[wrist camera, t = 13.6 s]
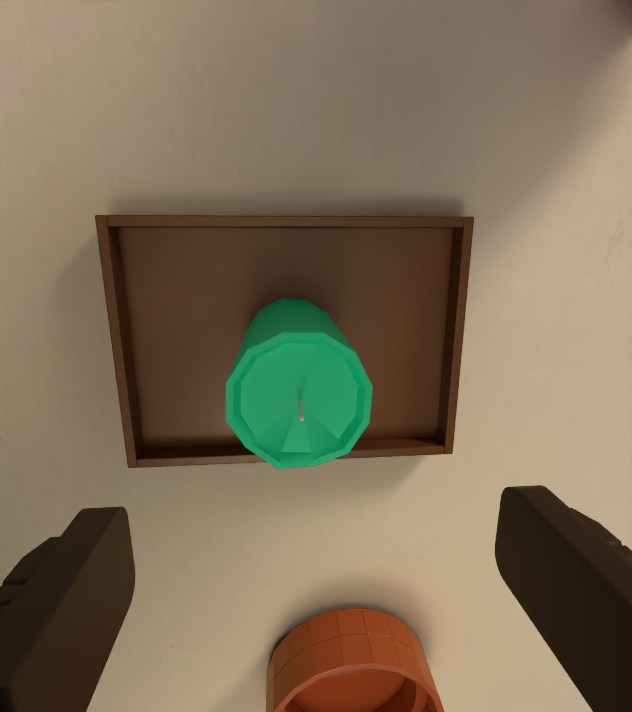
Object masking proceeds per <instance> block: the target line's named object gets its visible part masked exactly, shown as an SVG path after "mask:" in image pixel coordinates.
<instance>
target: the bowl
mask: <svg viewBox="0 0 632 712" xmlns="http://www.w3.org/2000/svg"><path fill="white" fill-rule="evenodd" d="M266 712H444V709H443V706H442V703H441V700H440V697H439V694H438V692H437V689H436V686H435V683H434V680H433V677H432V675H431V672H430V669H429V666H428V663H427V661H426V658H425V655H424V652H423V649H422V647H421V644H420V641H419V639H418V637H417V636H416V635H415V634H414V633H413V632H412V631H411V629H410V628H409V627H408V626H407V625H406V624H405V623H403V622H401V621H399V620H398V619H396V618H394V617H392V616H390V615H388V614H386V613H384V612H378V611H373V610H368V609H363V608H362V609H361V608H356V609H343V610H336V611H335V610H334V611H331V612H328V613H325V614H322V615H319V616H316V617H313V618H311V619H309V620H307V621H306V622H304V623H303V624H301V625H300V626H298V627H297V628H295V629H294V630H292V631H291V632H290V633H288V635H287V636H286V637H285V638H284V639H283V641H282V642H281V643H280V644H279V645H278V647H277V648H276V649H275V651H274V653H273V656H272V659H271V662H270V664H269V667H268V670H267V692H266Z"/></svg>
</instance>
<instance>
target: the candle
mask: <svg viewBox="0 0 632 712" xmlns="http://www.w3.org/2000/svg"><path fill="white" fill-rule="evenodd" d="M372 390H373V386H372V384H371V382H370V380H369V378H368V376H367V374H366V372H365V370H364V368H363V366H362V364H361V362H360V360H359V358H358V356H357V354H356V352H355V351H354V349H353V348H352V346H351V345H350V344H349V342H348V341H347V340H346V338H345V337H344V335H343V334H342V333H341V331H340V330H339V329H338V327H337V326H336V324H335V323H334V322H333V320H332V319H331V318H330V316H329V315H328V313H327V312H325V311H324V310H322V309H320V308H319V307H317V306H316V305H314V304H313V303H311V302H310V301H308V300H307V299H287V298H281V299H279V300H277V301H275V302H273V303H271V304H269V305H268V306H266V307H264V308H262V309H260V310H259V311H258V313H257V314H256V316H255V318H254V319H253V321H252V322H251V324H250V326H249V327H248V329H247V330H246V333H245V336H244V338H243V341H242V343H241V346H240V348H239V351H238V354H237V356H236V359H235V361H234V364H233V366H232V369H231V372H230V374H229V377H228V379H227V382H226V421H227V423H228V424H229V425H230V427H231V428H232V429H233V431H234V432H235V434H236V435H237V436H238V438H239V439H240V440H241V442H242V443H243V444H244V446H245V447H246V448H247V449H249V450H250V451H252V452H253V453H255V454H256V455H258V456H259V457H261V458H262V459H264V460H265V461H267V462H268V463H270V464H271V465H273V466H274V467H276V468H277V469H282V468H295V467H308V466H316V465H319V464H321V463H324V462H327V461H329V460H332V459H335V458H338V457H340V456H343V455H346V454H348V453H349V452H350V451H351V449H352V448H353V446H354V445H355V443H356V442H357V440H358V439H359V437H360V436H361V434H362V433H363V431H364V430H365V428H366V427H367V426H368V424H369V422H370V411H371V400H372Z"/></svg>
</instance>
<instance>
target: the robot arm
mask: <svg viewBox="0 0 632 712" xmlns="http://www.w3.org/2000/svg"><path fill="white" fill-rule="evenodd" d="M495 558H496V563H497V566H498V569H499V572H500V574H501V576H502V578H503V580H504V581H505V583H506V584H507V586H508V587H509V589H510V590H511V592H512V593H513V595H514V596H515V598H516V599H517V600H518V602H519V603H520V605H521V606H522V608H523V609H524V611H525V612H526V614H527V615H528V617H529V618H530V620H531V621H532V622H533V624H534V625H535V627H536V628H537V630H538V631H539V633H540V634H541V636H542V637H543V639H544V640H545V642H546V643H547V644H548V646H549V647H550V649H551V650H552V652H553V653H554V655H555V656H556V658H557V659H558V661H559V662H560V664H561V665H562V667H563V668H564V669H565V671H566V672H567V674H568V675H569V677H570V678H571V680H572V681H573V683H574V684H575V686H576V687H577V689H578V690H579V691H580V693H581V694H582V696H583V697H584V699H585V700H586V702H587V703H588V705H589V706H590V708H591V709H592V711H593V712H632V551H631V550H630V549H629V548H628V547H627V546H626V545H625V546H622V544H621V541H620V540H619V539H617V538H616V537H615V536H614V535H613V534H611V533H610V532H609V531H608V530H607V529H606V528H604V527H603V526H602V525H601V524H600V523H598V522H596V521H595V520H593V519H591V518H589V517H587V516H586V515H584V514H582V513H580V512H578V511H576V510H575V509H573V508H569V507H568V506H567V505H566V504H564V503H563V502H562V501H561V500H560V499H559V498H558V497H557V496H555V495H554V494H553V493H552V492H551V491H550V490H549V489H547V488H546V487H544V486H541V485H537V486H518V487H507V488H505V489H504V490H503V492H502V495H501V502H500V510H499V518H498V526H497V534H496V542H495ZM134 586H135V565H134V558H133V550H132V543H131V536H130V528H129V521H128V514H127V511H126V509H125V508H124V507H106V508H88V509H82V510H81V511H80V512H79V513H78V514H77V515H76V517H75V518H74V519H73V521H72V522H71V523H70V525H69V526H68V527H67V529H66V530H65V531H64V533H63V534H62V535H61V537H50V538H49V539H47V540H46V541H45V542H43V543H42V544H41V545H39V546H38V547H36V548H35V549H34V550H32V551H31V552H30V553H28V554H27V555H26V556H24V557H23V558H22V559H21V560H20V561H19V563H18V564H17V565H16V566H15V567H14V569H13V570H12V571H11V572H10V574H9V575H8V576H7V577H6V578H5V580H4V581H3V585H2V586H0V712H86V710H87V708H88V706H89V703H90V701H91V698H92V696H93V693H94V691H95V689H96V686H97V684H98V681H99V679H100V677H101V674H102V672H103V669H104V667H105V665H106V662H107V660H108V657H109V655H110V653H111V650H112V648H113V645H114V643H115V640H116V638H117V636H118V633H119V631H120V628H121V626H122V624H123V621H124V619H125V616H126V614H127V612H128V609H129V607H130V604H131V601H132V597H133V592H134Z"/></svg>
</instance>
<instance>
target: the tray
mask: <svg viewBox="0 0 632 712" xmlns="http://www.w3.org/2000/svg"><path fill="white" fill-rule="evenodd" d="M95 220H96V227H97V235H98V243H99V250H100V258H101V265H102V273H103V281H104V288H105V296H106V303H107V311H108V319H109V326H110V334H111V342H112V349H113V357H114V364H115V372H116V380H117V387H118V395H119V403H120V410H121V418H122V425H123V433H124V441H125V448H126V456H127V463H128V468H137V467H138V468H141V467H163V466H186V465H209V464H232V463H254V462H267V461H265V460H264V459H262V458H261V457H259V456H258V455H256V454H255V453H253V452H252V451H250V450H249V449H247V448H246V447H245V446H244V444H243V443H242V442H241V440H240V439H239V438H238V436H237V435H236V434H235V432H234V431H233V429H232V428H231V427H230V425H229V424H228V423H227V421H226V382H227V379H228V377H229V374H230V372H231V369H232V366H233V364H234V361H235V359H236V356H237V354H238V351H239V348H240V346H241V343H242V341H243V338H244V336H245V333H246V330H247V329H248V327H249V326H250V324H251V322H252V321H253V319H254V318H255V316H256V314H257V313H258V311H259V310H260V309H262V308H264V307H266V306H268V305H269V304H271V303H273V302H275V301H277V300H279V299H281V298H287V299H307V300H308V301H310V302H311V303H313V304H314V305H316V306H317V307H319V308H320V309H322V310H324V311H325V312H327V313H328V315H329V316H330V318H331V319H332V320H333V322H334V323H335V324H336V326H337V327H338V329H339V330H340V331H341V333H342V334H343V335H344V337H345V338H346V340H347V341H348V342H349V344H350V345H351V346H352V348H353V349H354V351H355V352H356V354H357V356H358V358H359V360H360V362H361V364H362V366H363V368H364V370H365V372H366V374H367V376H368V378H369V380H370V382H371V384H372V386H373V390H372V400H371V411H370V422H369V424H368V426H367V427H366V428H365V430H364V431H363V433H362V434H361V436H360V437H359V439H358V440H357V442H356V443H355V445H354V446H353V448H352V449H351V451H350V452H349V453H348V454H346V455H343V456H340V457H338V458H335V459H346V458H368V457H391V456H414V455H437V454H452V453H453V442H454V431H455V420H456V409H457V398H458V388H459V377H460V366H461V355H462V344H463V333H464V322H465V311H466V300H467V289H468V278H469V267H470V256H471V245H472V234H473V223H474V217H421V216H197V215H95Z"/></svg>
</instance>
